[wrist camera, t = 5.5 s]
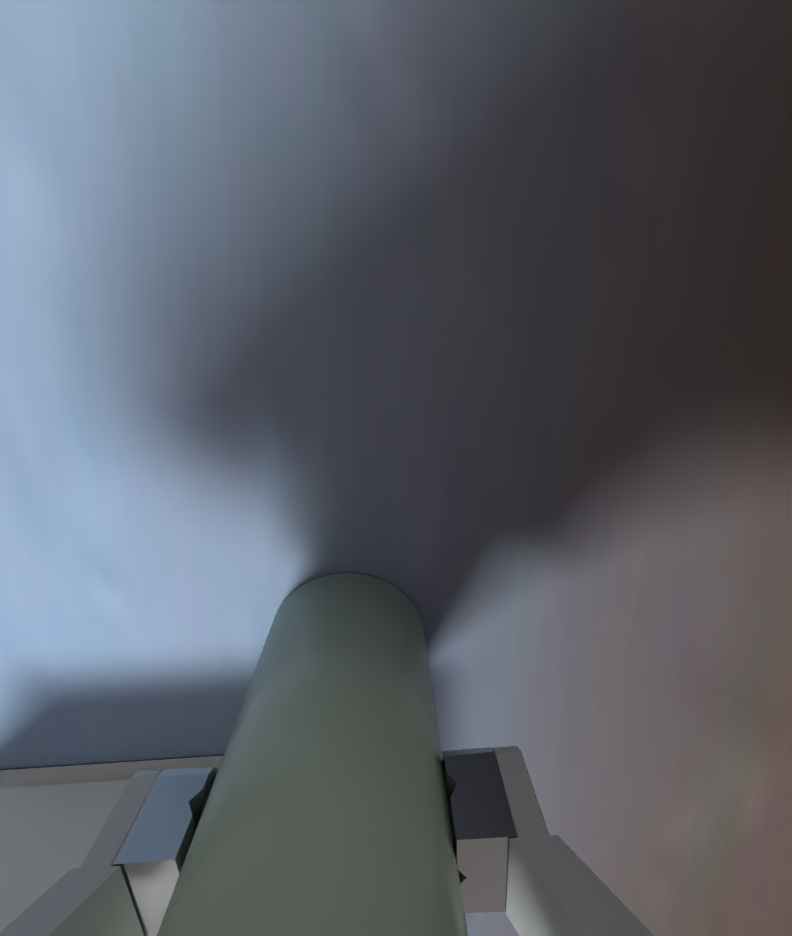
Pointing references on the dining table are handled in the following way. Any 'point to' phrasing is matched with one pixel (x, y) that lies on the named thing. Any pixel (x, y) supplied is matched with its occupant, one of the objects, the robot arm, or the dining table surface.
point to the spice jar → (329, 783)
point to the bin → (58, 821)
